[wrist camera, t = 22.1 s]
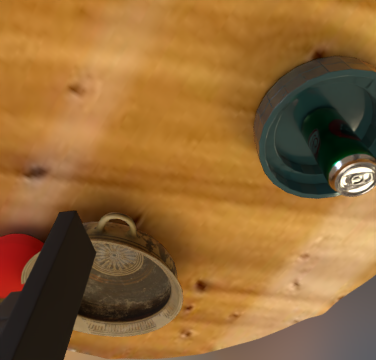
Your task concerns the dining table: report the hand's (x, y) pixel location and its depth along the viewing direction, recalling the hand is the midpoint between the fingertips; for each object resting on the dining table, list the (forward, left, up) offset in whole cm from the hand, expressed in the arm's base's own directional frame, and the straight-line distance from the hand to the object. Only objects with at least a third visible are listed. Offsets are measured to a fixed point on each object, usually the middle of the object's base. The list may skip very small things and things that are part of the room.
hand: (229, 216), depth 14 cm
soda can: (+12, +13, -28) cm, 33 cm away
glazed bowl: (+12, +13, -29) cm, 34 cm away
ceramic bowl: (+31, -20, -29) cm, 47 cm away
